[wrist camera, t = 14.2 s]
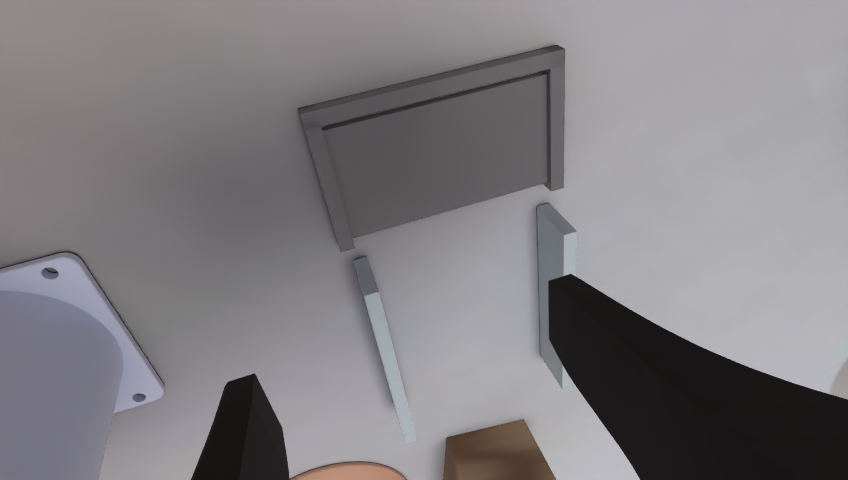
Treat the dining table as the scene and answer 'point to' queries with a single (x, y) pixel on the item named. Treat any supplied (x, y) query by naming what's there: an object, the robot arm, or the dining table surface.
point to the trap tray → (439, 142)
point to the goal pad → (352, 472)
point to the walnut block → (496, 455)
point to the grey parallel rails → (552, 263)
